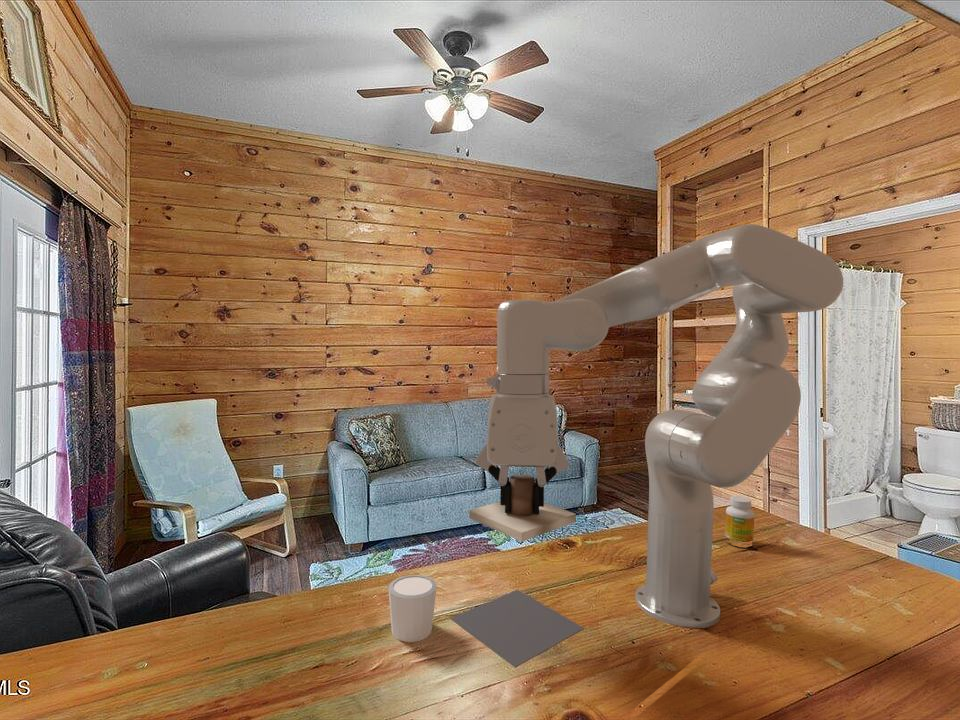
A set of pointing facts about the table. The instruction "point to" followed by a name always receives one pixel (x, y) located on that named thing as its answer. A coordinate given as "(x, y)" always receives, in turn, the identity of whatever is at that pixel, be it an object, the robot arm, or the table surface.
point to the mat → (516, 626)
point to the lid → (522, 513)
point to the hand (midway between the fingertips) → (522, 509)
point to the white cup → (412, 607)
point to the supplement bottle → (739, 520)
